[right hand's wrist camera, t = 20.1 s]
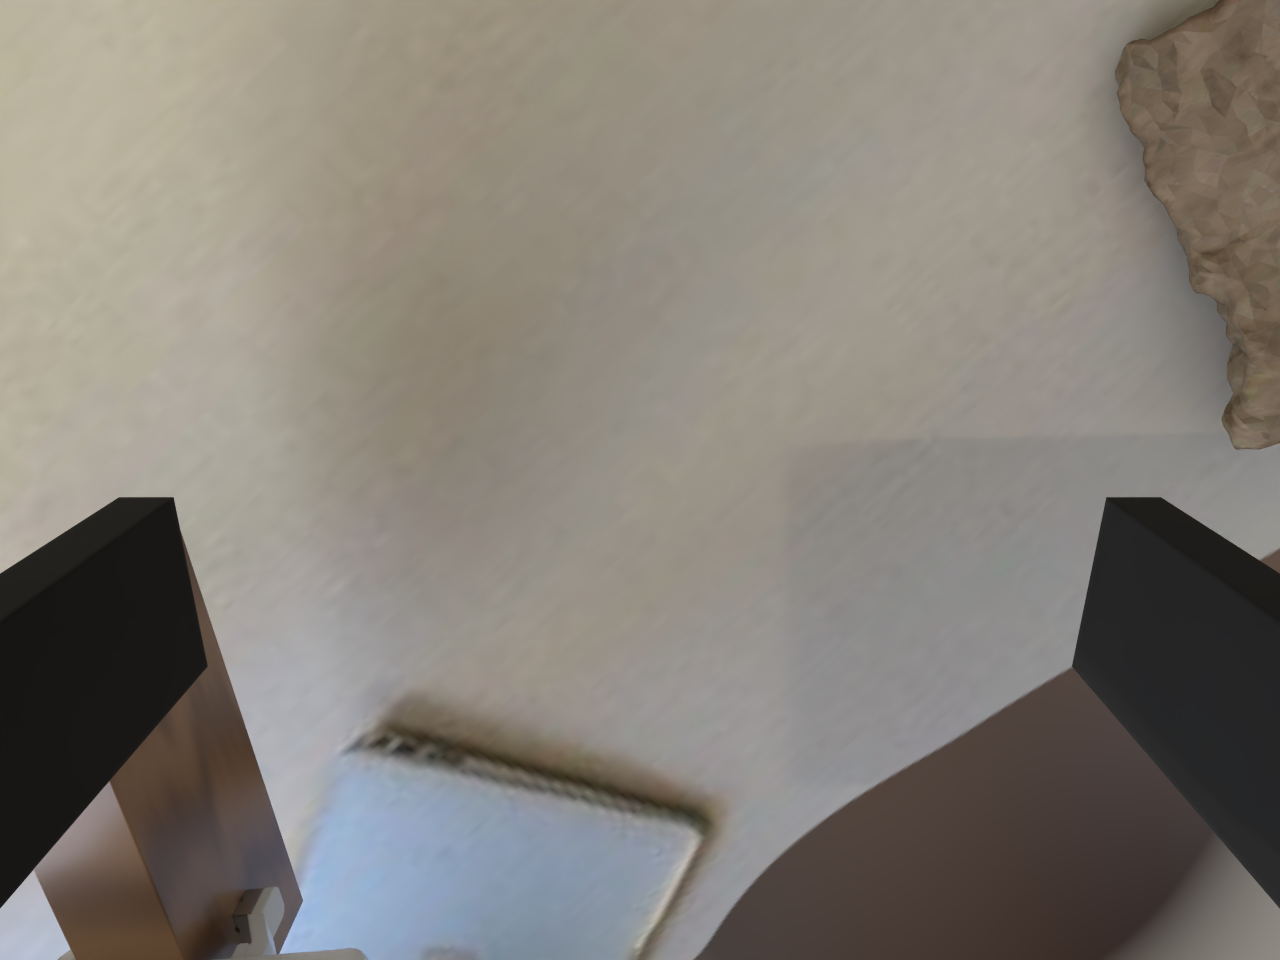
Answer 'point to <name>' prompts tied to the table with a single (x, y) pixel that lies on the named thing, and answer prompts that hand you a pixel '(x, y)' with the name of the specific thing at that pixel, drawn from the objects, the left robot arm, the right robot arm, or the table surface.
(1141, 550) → the right robot arm
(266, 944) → the left robot arm
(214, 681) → the bar
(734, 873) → the table surface
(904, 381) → the table surface
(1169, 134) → the stone
